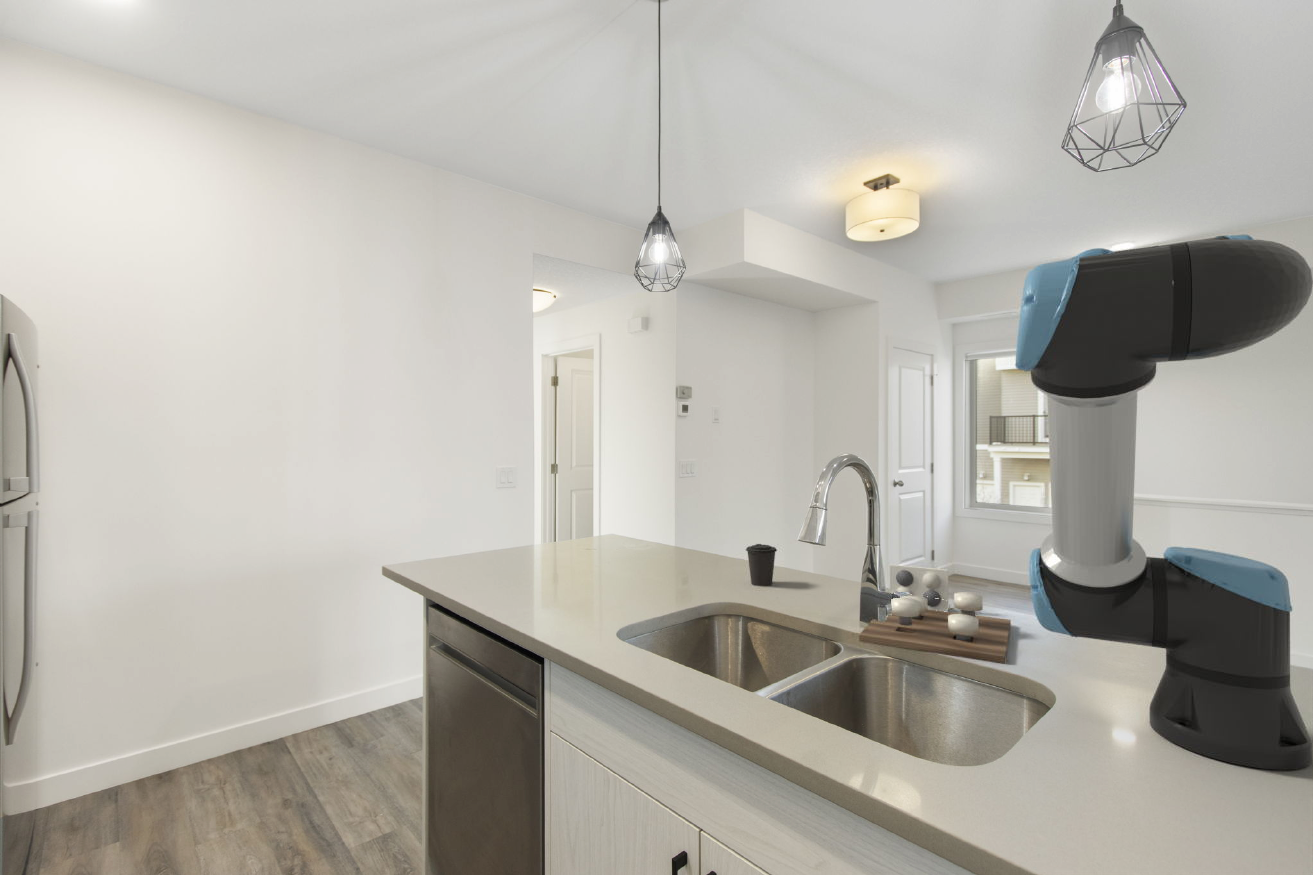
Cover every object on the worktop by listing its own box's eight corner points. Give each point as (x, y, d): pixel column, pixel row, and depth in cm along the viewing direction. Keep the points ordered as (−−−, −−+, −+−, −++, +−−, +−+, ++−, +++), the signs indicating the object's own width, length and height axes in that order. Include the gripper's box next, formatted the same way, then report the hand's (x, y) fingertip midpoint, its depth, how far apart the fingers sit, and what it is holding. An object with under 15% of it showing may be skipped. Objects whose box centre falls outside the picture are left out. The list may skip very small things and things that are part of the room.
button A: (977, 648, 112) (977, 623, 112) (946, 643, 115) (946, 619, 115) (979, 640, 117) (979, 616, 117) (950, 635, 119) (949, 612, 119)
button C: (981, 622, 121) (981, 600, 121) (953, 619, 124) (952, 596, 124) (983, 616, 125) (983, 594, 125) (955, 612, 128) (955, 591, 128)
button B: (917, 629, 118) (917, 605, 118) (889, 625, 120) (888, 602, 120) (921, 622, 122) (921, 599, 122) (894, 618, 124) (894, 596, 124)
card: (947, 612, 137) (947, 570, 137) (889, 605, 143) (889, 565, 143) (950, 607, 140) (949, 567, 140) (893, 600, 146) (893, 561, 146)
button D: (925, 624, 126) (925, 602, 126) (899, 621, 129) (898, 599, 129) (929, 618, 130) (929, 597, 130) (903, 615, 133) (903, 594, 133)
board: (1005, 663, 106) (1005, 656, 106) (859, 640, 119) (859, 634, 119) (1010, 625, 127) (1010, 619, 127) (885, 609, 139) (885, 604, 139)
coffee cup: (760, 578, 170) (759, 541, 170) (783, 583, 164) (783, 545, 164) (739, 583, 165) (739, 545, 165) (763, 589, 159) (762, 549, 159)
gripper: (1102, 351, 112) (1103, 484, 112) (1042, 350, 109) (1043, 486, 109) (1144, 345, 105) (1145, 488, 105) (1081, 344, 102) (1082, 490, 102)
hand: (1093, 487), depth 107 cm, fingers closed
